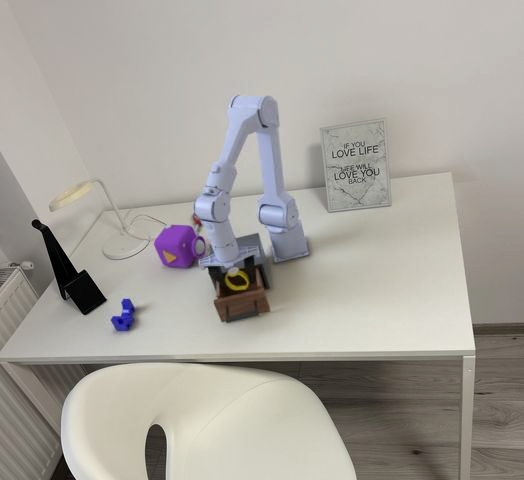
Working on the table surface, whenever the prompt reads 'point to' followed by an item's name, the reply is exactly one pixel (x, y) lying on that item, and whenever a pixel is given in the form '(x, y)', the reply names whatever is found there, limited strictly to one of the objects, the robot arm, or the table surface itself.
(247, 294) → the drawer
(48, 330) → the table surface
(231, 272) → the watch
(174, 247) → the toy camera
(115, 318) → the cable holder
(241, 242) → the cabinet
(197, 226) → the scissors
